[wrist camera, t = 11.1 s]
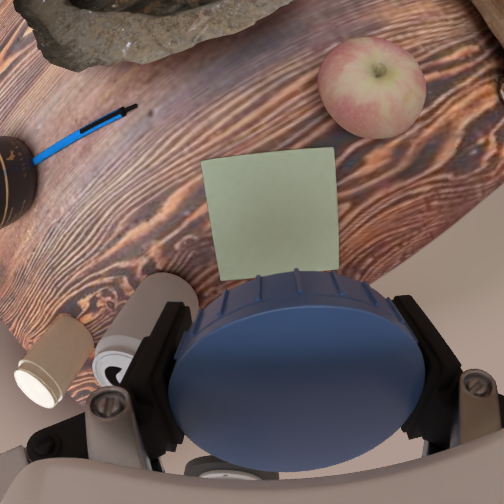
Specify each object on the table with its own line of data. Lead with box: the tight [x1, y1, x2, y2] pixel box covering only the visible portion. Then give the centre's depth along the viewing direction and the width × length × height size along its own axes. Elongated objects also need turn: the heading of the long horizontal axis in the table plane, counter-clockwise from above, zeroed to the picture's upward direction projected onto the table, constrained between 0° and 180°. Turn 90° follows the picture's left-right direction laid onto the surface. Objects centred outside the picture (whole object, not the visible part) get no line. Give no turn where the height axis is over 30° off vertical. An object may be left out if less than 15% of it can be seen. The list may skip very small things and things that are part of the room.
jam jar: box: [14, 316, 94, 408], centre depth 27 cm, size 6×6×10 cm
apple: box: [317, 37, 426, 139], centre depth 18 cm, size 8×8×8 cm
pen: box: [33, 104, 137, 166], centre depth 23 cm, size 1×19×1 cm, turn 106°
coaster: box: [201, 147, 339, 281], centre depth 26 cm, size 11×11×1 cm
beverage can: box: [92, 273, 199, 387], centre depth 24 cm, size 6×6×12 cm
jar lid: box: [168, 268, 425, 472], centre depth 8 cm, size 7×7×2 cm
